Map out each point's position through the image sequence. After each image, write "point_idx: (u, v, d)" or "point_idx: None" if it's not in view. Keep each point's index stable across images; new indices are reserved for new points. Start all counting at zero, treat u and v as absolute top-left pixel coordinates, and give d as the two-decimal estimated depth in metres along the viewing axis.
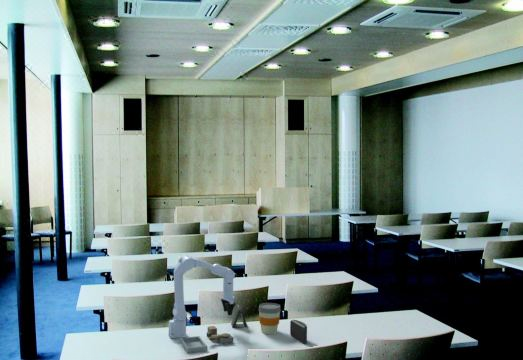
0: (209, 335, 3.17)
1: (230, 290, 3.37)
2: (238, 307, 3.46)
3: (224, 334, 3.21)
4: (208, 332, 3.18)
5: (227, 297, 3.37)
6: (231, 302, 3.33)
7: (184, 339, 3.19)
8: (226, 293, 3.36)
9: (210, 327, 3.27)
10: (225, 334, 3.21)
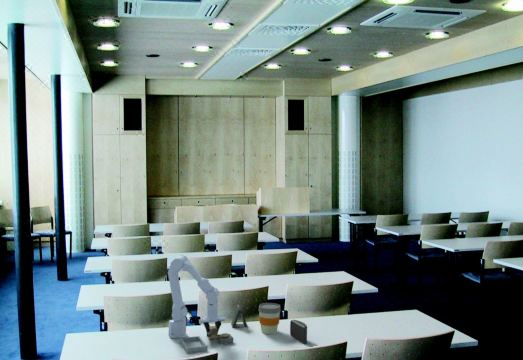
0: (209, 335, 3.17)
1: (207, 311, 3.25)
2: (238, 307, 3.46)
3: (224, 334, 3.21)
4: (208, 332, 3.18)
5: (207, 317, 3.27)
6: (199, 321, 3.24)
7: (184, 339, 3.19)
8: None
9: (210, 327, 3.27)
10: (225, 334, 3.21)
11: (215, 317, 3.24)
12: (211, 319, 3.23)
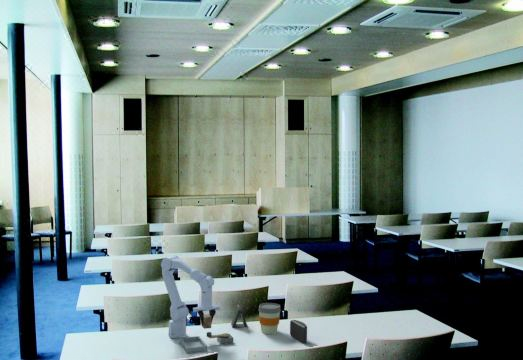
0: (209, 335, 3.17)
1: (202, 299, 3.20)
2: (238, 307, 3.46)
3: (224, 334, 3.21)
4: (208, 332, 3.18)
5: (201, 305, 3.21)
6: (193, 310, 3.19)
7: (184, 339, 3.19)
8: None
9: (204, 315, 3.22)
10: (225, 334, 3.21)
11: (209, 305, 3.19)
12: (205, 307, 3.18)
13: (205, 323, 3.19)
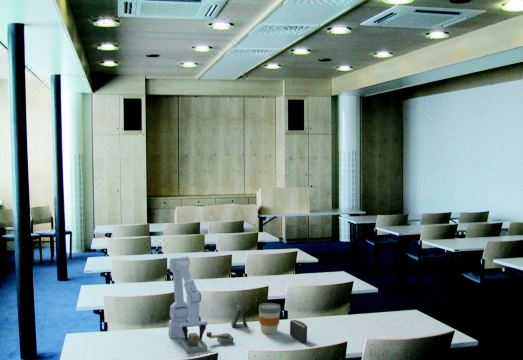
0: (209, 335, 3.17)
1: (188, 314, 3.11)
2: (238, 307, 3.46)
3: (224, 334, 3.21)
4: (208, 332, 3.18)
5: None
6: (179, 325, 3.10)
7: (184, 339, 3.19)
8: None
9: (191, 334, 3.13)
10: (225, 334, 3.21)
11: (196, 321, 3.10)
12: (192, 323, 3.09)
13: (192, 342, 3.10)
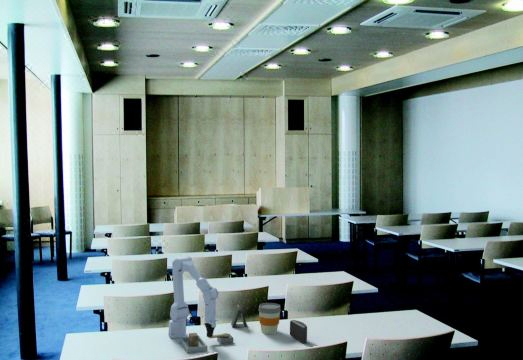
0: None
1: (212, 312, 3.12)
2: (238, 307, 3.46)
3: (224, 334, 3.21)
4: None
5: (209, 320, 3.12)
6: (213, 325, 3.08)
7: (184, 339, 3.19)
8: (208, 315, 3.12)
9: (191, 334, 3.13)
10: (225, 334, 3.21)
11: None
12: (215, 318, 3.15)
13: (192, 342, 3.10)
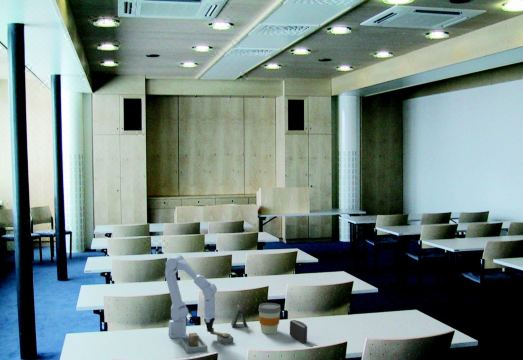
0: None
1: (209, 308, 3.20)
2: (238, 307, 3.46)
3: (224, 334, 3.21)
4: None
5: (206, 315, 3.21)
6: (207, 320, 3.16)
7: (184, 339, 3.19)
8: (205, 310, 3.21)
9: (191, 334, 3.13)
10: (225, 334, 3.21)
11: None
12: (214, 314, 3.22)
13: (192, 342, 3.10)
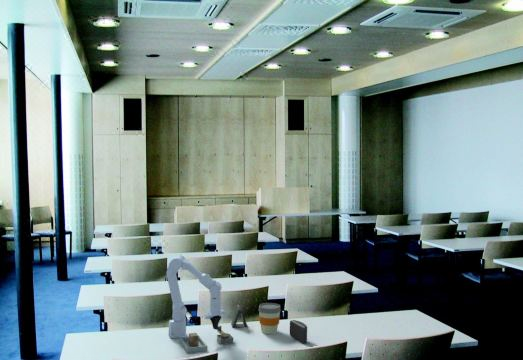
0: (217, 328, 3.29)
1: (212, 305, 3.25)
2: (238, 307, 3.46)
3: (225, 334, 3.21)
4: (219, 326, 3.29)
5: (210, 312, 3.26)
6: (206, 317, 3.22)
7: (184, 339, 3.19)
8: (210, 307, 3.27)
9: (191, 334, 3.13)
10: (225, 334, 3.21)
11: (220, 310, 3.27)
12: (217, 313, 3.25)
13: (192, 342, 3.10)
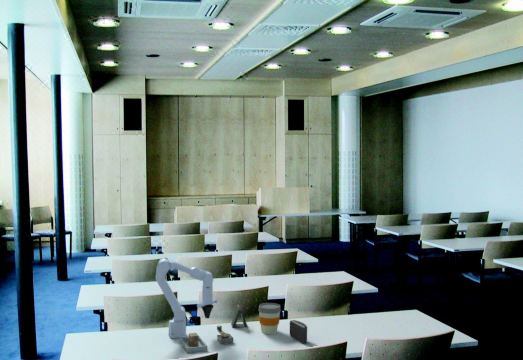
0: (217, 328, 3.29)
1: (204, 294, 3.29)
2: (238, 307, 3.46)
3: (225, 334, 3.21)
4: (220, 326, 3.30)
5: (202, 301, 3.31)
6: (198, 306, 3.26)
7: (184, 339, 3.19)
8: (202, 296, 3.31)
9: (191, 334, 3.13)
10: (225, 334, 3.21)
11: (212, 299, 3.31)
12: (209, 302, 3.29)
13: (192, 342, 3.10)
